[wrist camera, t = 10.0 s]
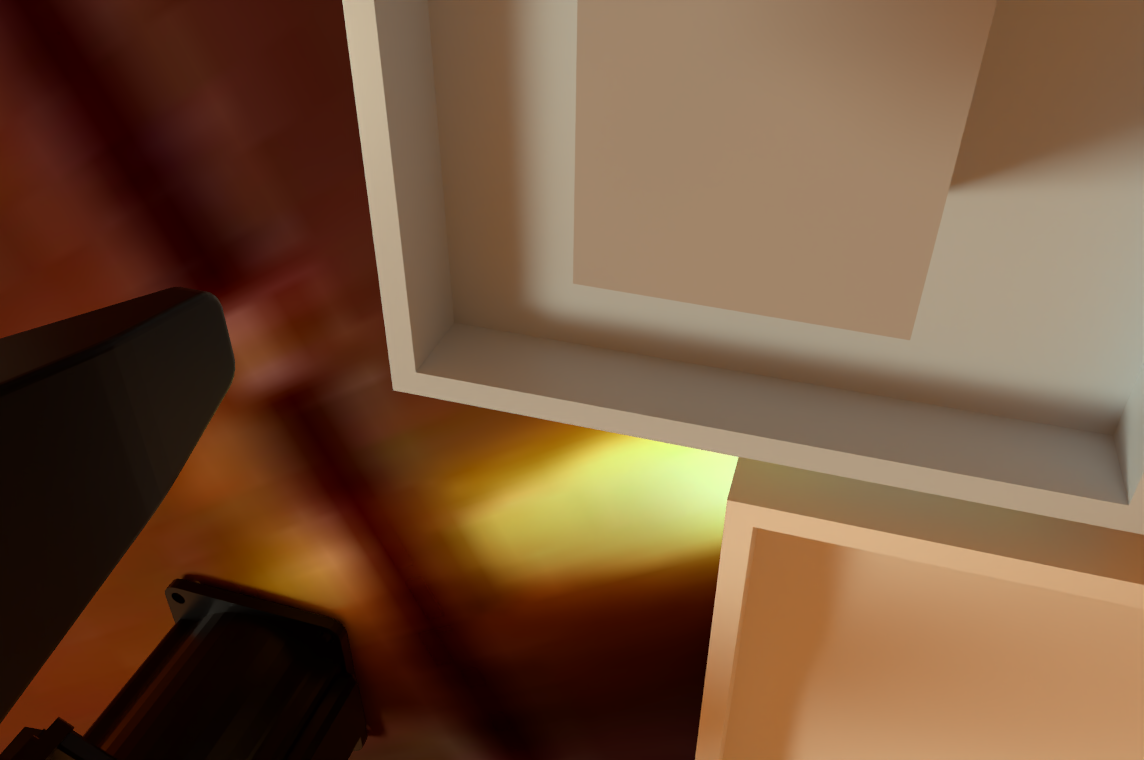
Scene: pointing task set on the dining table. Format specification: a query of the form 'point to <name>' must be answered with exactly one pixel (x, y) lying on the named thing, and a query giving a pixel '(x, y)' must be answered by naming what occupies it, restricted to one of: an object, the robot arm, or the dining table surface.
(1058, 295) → the bin
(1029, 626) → the bin
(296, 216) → the dining table surface
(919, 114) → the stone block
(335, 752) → the robot arm
